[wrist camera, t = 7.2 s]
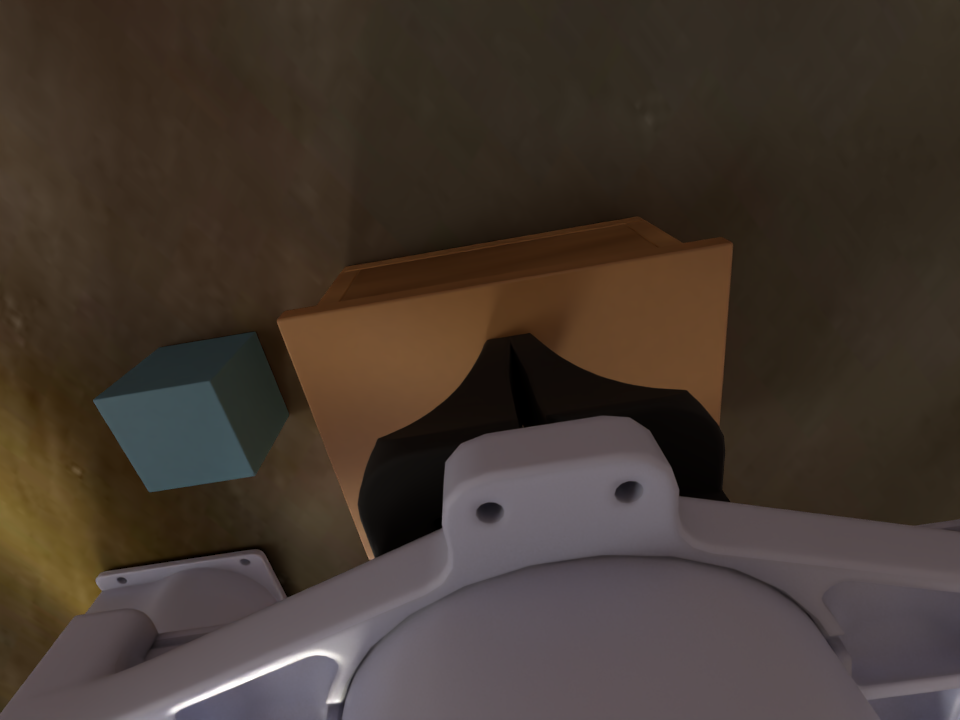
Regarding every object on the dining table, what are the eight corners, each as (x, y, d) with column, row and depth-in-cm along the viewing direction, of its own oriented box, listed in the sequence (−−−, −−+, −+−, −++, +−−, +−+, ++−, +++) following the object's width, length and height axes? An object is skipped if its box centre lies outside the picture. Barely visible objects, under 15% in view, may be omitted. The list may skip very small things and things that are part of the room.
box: (344, 266, 20) (294, 333, 14) (638, 215, 20) (717, 263, 14) (403, 467, 25) (385, 581, 19) (642, 431, 25) (702, 536, 18)
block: (200, 429, 24) (148, 493, 20) (158, 347, 22) (91, 400, 18) (289, 415, 23) (255, 476, 20) (255, 331, 21) (209, 380, 18)
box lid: (282, 310, 14) (274, 320, 13) (721, 235, 13) (735, 242, 13) (385, 583, 19) (383, 599, 18) (702, 537, 18) (711, 552, 18)
